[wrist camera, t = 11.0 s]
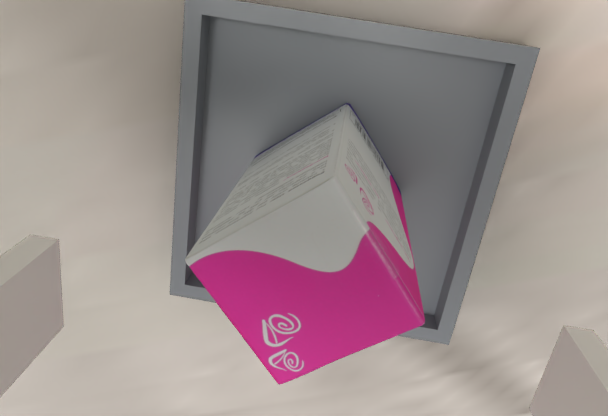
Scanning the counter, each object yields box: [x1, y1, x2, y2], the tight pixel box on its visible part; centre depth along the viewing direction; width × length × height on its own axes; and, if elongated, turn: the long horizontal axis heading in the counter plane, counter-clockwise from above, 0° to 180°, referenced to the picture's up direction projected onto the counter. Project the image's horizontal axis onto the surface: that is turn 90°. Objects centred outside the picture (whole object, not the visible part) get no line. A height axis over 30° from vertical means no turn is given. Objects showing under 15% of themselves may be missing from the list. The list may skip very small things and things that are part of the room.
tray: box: [170, 0, 540, 345], centre depth 26 cm, size 16×16×2 cm
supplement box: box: [185, 102, 425, 384], centre depth 21 cm, size 6×6×12 cm
